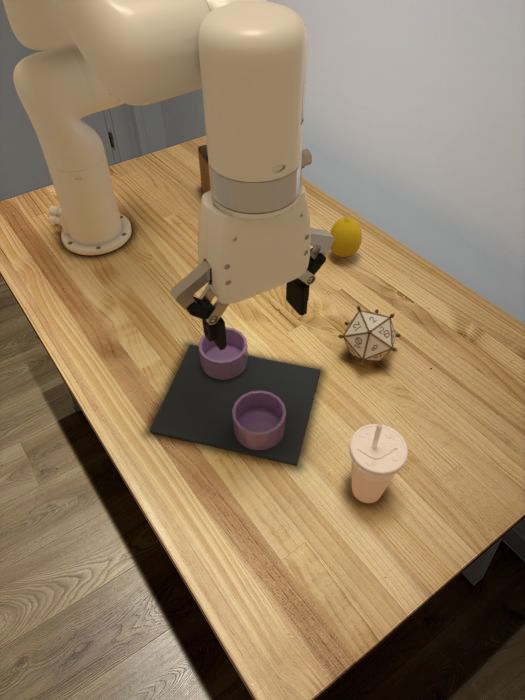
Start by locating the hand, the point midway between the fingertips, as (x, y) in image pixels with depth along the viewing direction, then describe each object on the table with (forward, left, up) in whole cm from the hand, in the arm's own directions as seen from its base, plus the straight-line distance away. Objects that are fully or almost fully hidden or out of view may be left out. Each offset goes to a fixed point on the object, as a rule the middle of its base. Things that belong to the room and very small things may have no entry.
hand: (257, 323), depth 58 cm
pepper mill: (-18, +50, -20) cm, 57 cm away
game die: (+12, +17, -20) cm, 29 cm away
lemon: (+5, +39, -20) cm, 44 cm away
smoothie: (+15, -5, -20) cm, 26 cm away
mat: (-4, +4, -20) cm, 21 cm away
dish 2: (0, 0, -20) cm, 20 cm away
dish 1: (-8, +10, -20) cm, 24 cm away
